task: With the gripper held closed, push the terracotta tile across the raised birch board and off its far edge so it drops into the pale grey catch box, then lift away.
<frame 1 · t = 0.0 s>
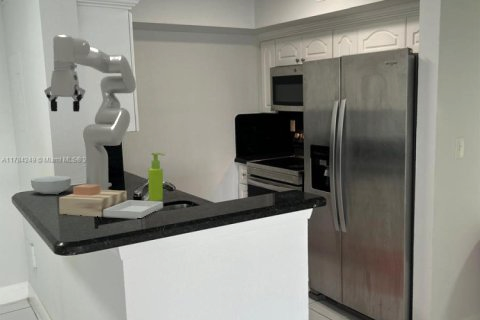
hand: (65, 111, 178), 37 cm above the counter, tool pointing down, fingers open, 9 cm apart
cereal bowl: (51, 194, 203), on the counter
soap dispenser: (156, 200, 190), on the counter
catch box: (134, 212, 164), on the counter
birch board: (94, 210, 167), on the counter
terracotta tile: (87, 193, 167), point 6 cm above the counter, touching birch board
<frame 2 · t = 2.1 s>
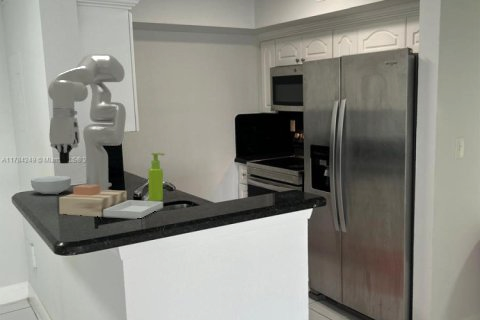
hand: (64, 163, 168), 17 cm above the counter, tool pointing down, fingers closed
nothing on the counter moved.
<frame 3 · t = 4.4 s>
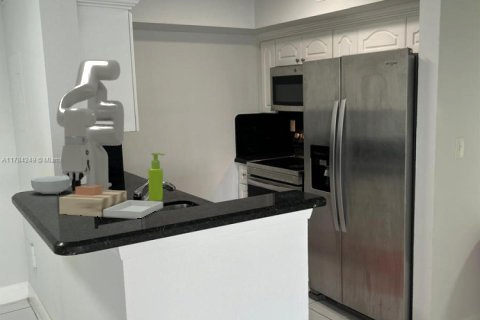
hand: (76, 190, 168), 7 cm above the counter, tool pointing down, fingers closed
terracotta tile: (89, 193, 167), point 6 cm above the counter, touching gripper
everything else where it was.
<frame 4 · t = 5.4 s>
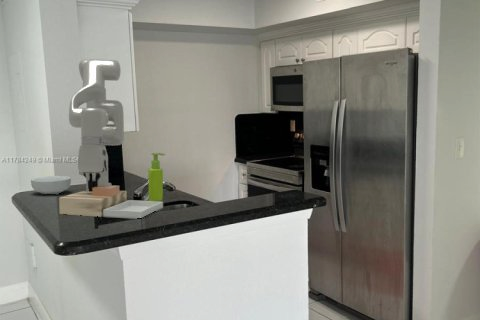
hand: (92, 191, 167), 7 cm above the counter, tool pointing down, fingers closed
terracotta tile: (106, 194, 166), point 6 cm above the counter, touching gripper
everything else where it was.
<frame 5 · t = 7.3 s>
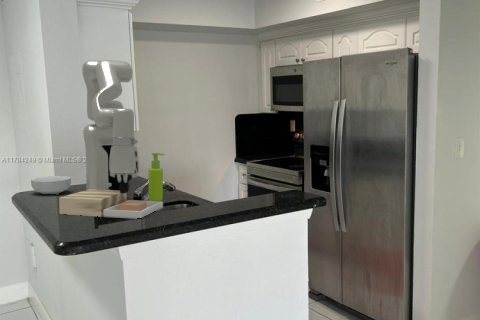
hand: (124, 192, 164), 7 cm above the counter, tool pointing down, fingers closed
terracotta tile: (133, 203, 163), point 3 cm above the counter, tilted 180°, touching catch box
everything else where it was.
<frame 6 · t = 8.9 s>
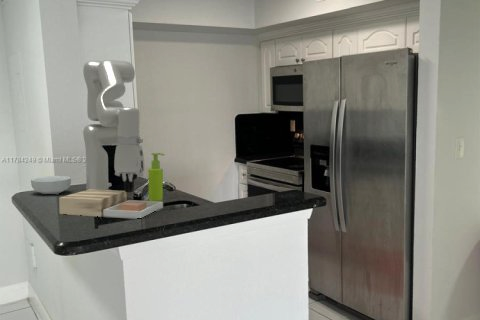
hand: (129, 191, 164), 7 cm above the counter, tool pointing down, fingers closed
nothing on the counter moved.
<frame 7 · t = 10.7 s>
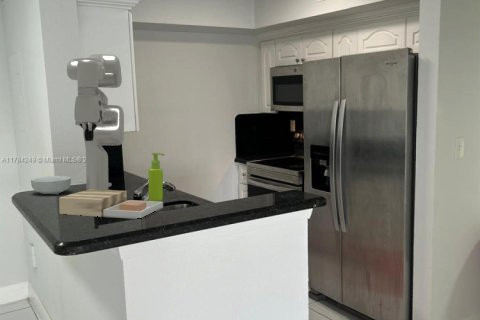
hand: (89, 140, 173), 26 cm above the counter, tool pointing down, fingers closed
nothing on the counter moved.
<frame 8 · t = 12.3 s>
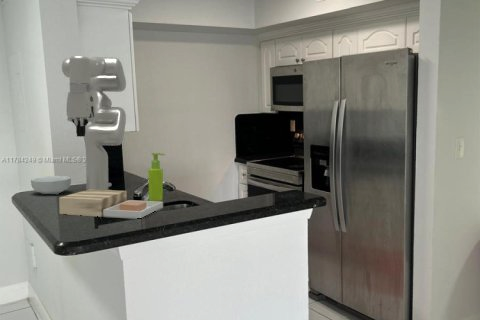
hand: (80, 136, 175), 27 cm above the counter, tool pointing down, fingers closed
nothing on the counter moved.
at the end: terracotta tile inside the target area (0.7 cm from its centre), point 3.5 cm above the counter; terracotta tile touching catch box; the gripper is holding nothing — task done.
